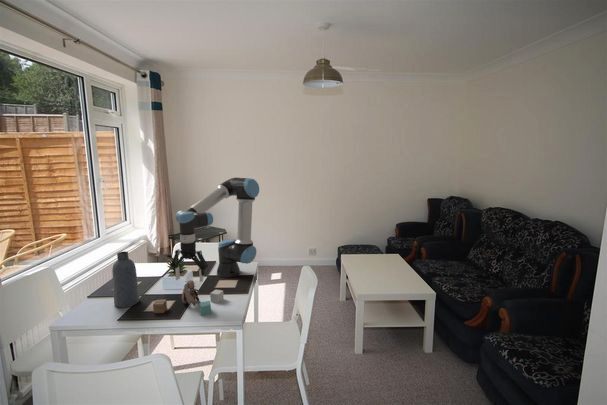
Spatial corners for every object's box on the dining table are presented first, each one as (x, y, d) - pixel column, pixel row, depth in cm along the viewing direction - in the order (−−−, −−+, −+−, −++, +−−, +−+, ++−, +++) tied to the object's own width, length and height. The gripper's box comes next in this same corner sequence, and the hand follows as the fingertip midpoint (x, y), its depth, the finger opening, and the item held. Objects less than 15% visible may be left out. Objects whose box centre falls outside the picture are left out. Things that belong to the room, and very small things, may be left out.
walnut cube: (157, 308, 171) (156, 299, 170) (166, 308, 171) (166, 299, 171) (153, 313, 166) (153, 304, 165) (163, 313, 166) (163, 303, 166)
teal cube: (200, 311, 168) (199, 302, 167) (210, 309, 170) (209, 300, 169) (200, 316, 164) (200, 306, 163) (211, 314, 165) (210, 305, 164)
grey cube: (215, 297, 183) (215, 289, 183) (223, 299, 182) (223, 290, 181) (210, 301, 179) (210, 293, 178) (218, 303, 177) (218, 294, 176)
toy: (205, 299, 180) (198, 277, 173) (194, 310, 173) (187, 288, 166) (192, 296, 183) (185, 275, 177) (182, 307, 176) (173, 285, 170)
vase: (113, 310, 169) (108, 258, 165) (114, 300, 180) (110, 251, 175) (139, 305, 175) (135, 254, 170) (139, 296, 185) (135, 248, 181)
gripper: (161, 242, 169) (164, 281, 172) (207, 244, 165) (208, 284, 168) (170, 238, 176) (172, 275, 180) (213, 240, 172) (214, 279, 176)
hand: (189, 280), depth 174 cm, fingers open, 13 cm apart
